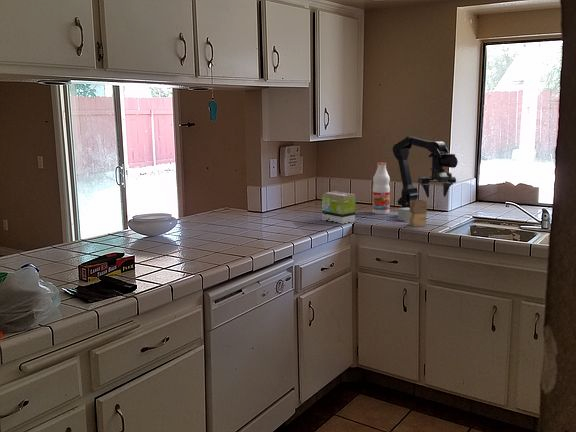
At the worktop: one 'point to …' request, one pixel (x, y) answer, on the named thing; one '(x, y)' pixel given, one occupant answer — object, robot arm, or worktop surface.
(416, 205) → the walnut block
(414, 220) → the oak block
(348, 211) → the tea box
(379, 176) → the fruit juice
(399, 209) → the grey block
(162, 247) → the worktop surface
